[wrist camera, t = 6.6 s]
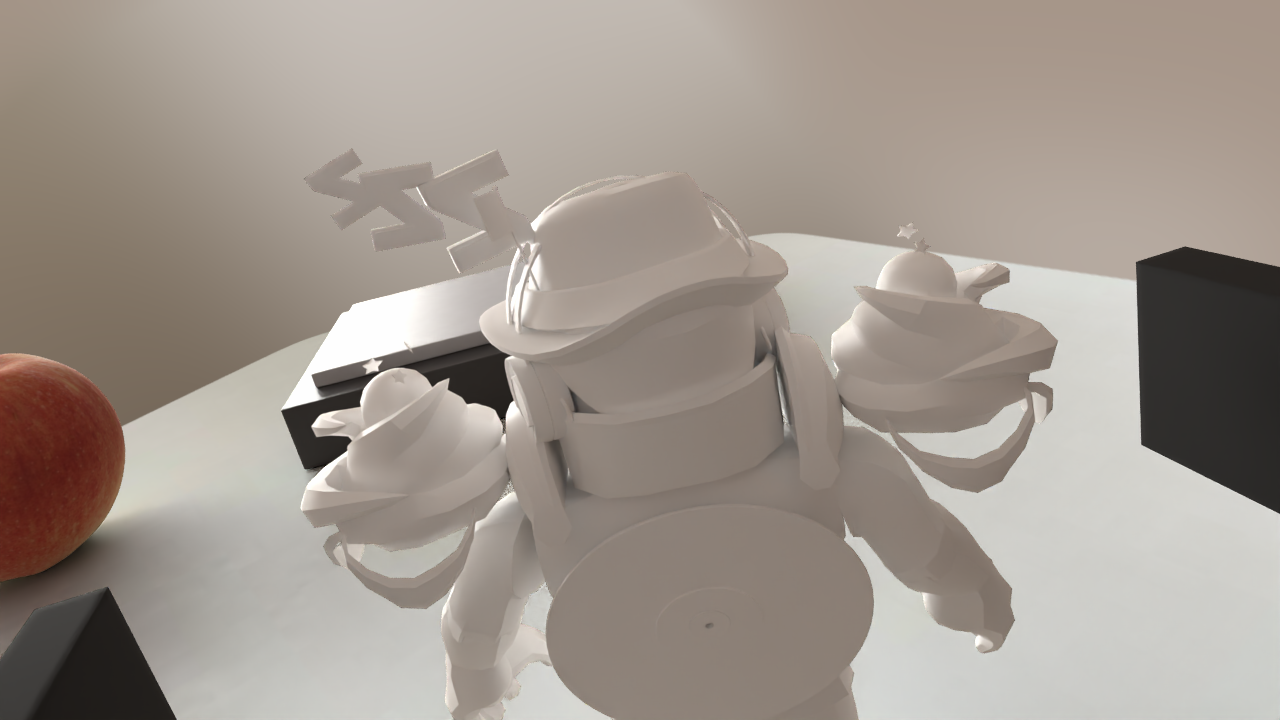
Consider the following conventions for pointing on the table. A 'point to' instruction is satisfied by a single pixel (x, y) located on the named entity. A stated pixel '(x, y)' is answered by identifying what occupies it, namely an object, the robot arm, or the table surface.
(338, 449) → the scale
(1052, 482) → the table surface
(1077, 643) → the table surface
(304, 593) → the table surface
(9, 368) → the apple
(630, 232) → the hat wearing toy figure
